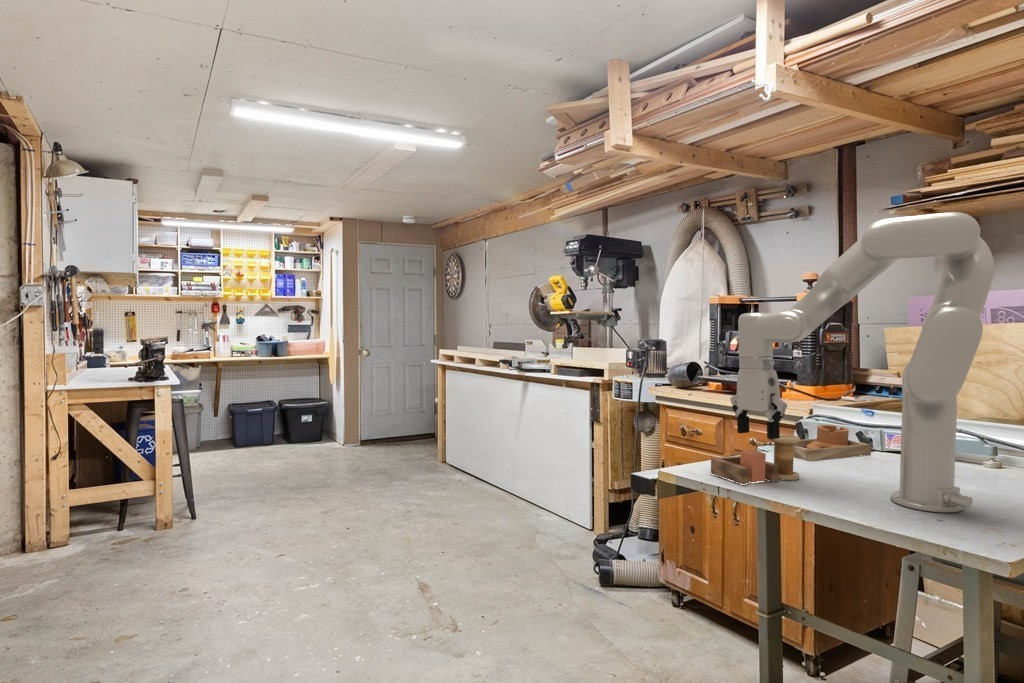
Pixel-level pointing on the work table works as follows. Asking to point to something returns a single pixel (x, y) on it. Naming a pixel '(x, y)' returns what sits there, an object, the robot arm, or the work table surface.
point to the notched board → (740, 469)
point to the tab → (754, 464)
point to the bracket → (829, 437)
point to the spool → (785, 456)
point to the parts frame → (830, 451)
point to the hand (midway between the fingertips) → (758, 435)
